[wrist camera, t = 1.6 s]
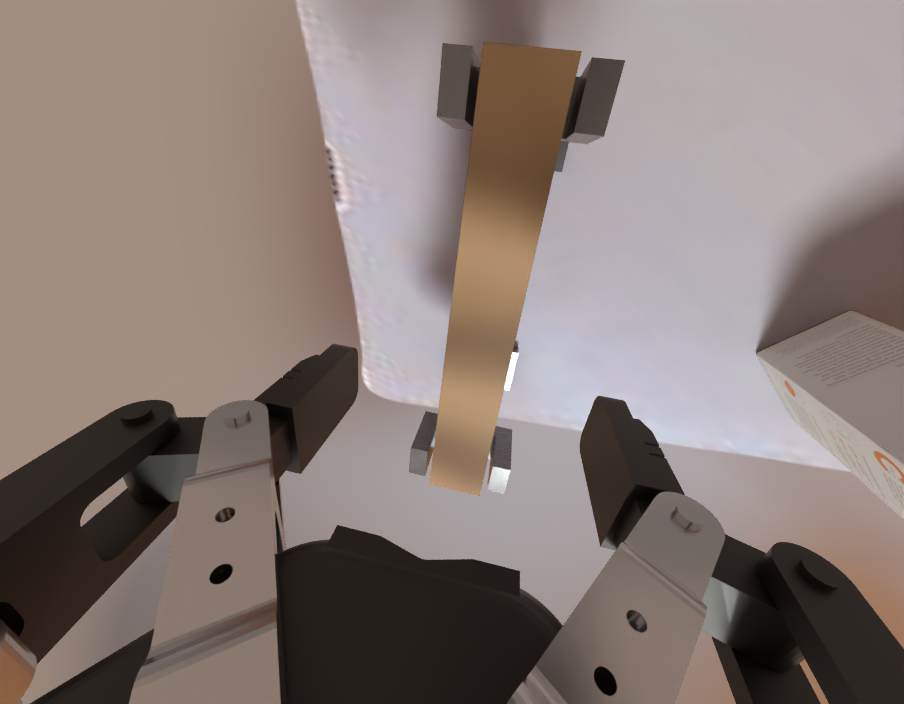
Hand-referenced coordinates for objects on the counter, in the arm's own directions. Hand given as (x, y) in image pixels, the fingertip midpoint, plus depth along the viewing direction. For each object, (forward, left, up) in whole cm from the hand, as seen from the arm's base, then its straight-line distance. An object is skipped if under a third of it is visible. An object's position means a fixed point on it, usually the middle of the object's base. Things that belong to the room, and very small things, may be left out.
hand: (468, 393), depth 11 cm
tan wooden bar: (0, 0, -7) cm, 7 cm away
